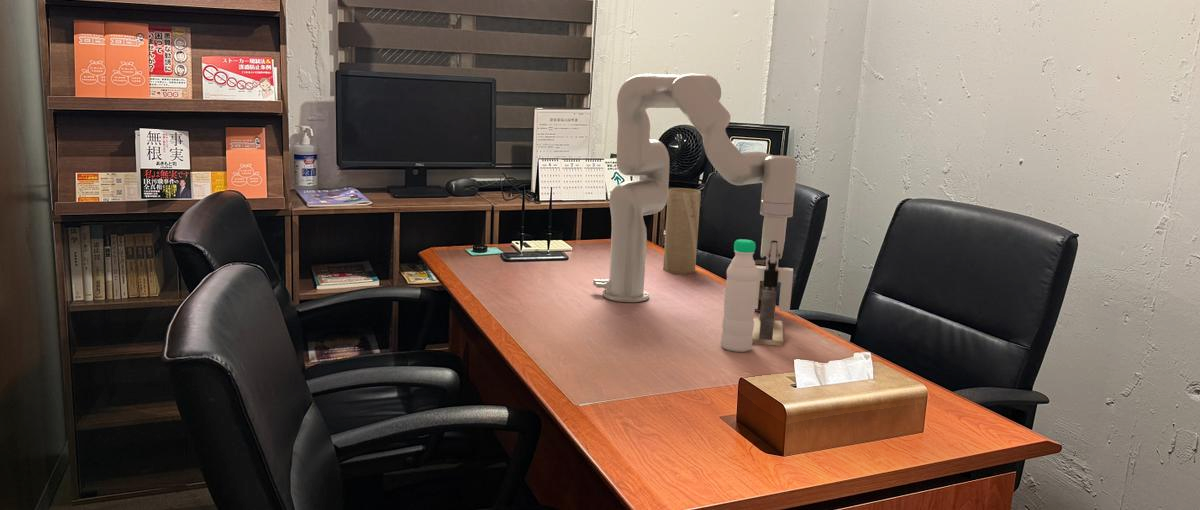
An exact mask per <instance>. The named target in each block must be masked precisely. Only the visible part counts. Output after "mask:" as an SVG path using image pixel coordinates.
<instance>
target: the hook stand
mask: <svg viewBox="0 0 1200 510" xmlns="http://www.w3.org/2000/svg"><path fill="white" fill-rule="evenodd" d="M763 283H764V282H763ZM777 295H778V293H777V290H776V288H773V287H764V286H762V297H761V308H760V311H759V318H757V317H756V318H753V319H754V328H753V333H752V337H753V340H752V344H758V345H768V346H777V347H784V334H783V333H784V332H783V321H782V320H777V319H776V320H775V314H776V304H777Z"/></svg>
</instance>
